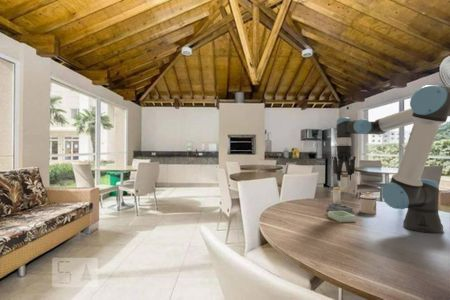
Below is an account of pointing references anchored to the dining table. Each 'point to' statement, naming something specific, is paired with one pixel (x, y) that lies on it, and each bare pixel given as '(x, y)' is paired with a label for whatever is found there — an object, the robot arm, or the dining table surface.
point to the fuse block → (340, 208)
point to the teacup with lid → (368, 203)
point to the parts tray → (341, 216)
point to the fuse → (336, 195)
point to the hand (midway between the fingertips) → (344, 186)
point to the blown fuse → (344, 181)
